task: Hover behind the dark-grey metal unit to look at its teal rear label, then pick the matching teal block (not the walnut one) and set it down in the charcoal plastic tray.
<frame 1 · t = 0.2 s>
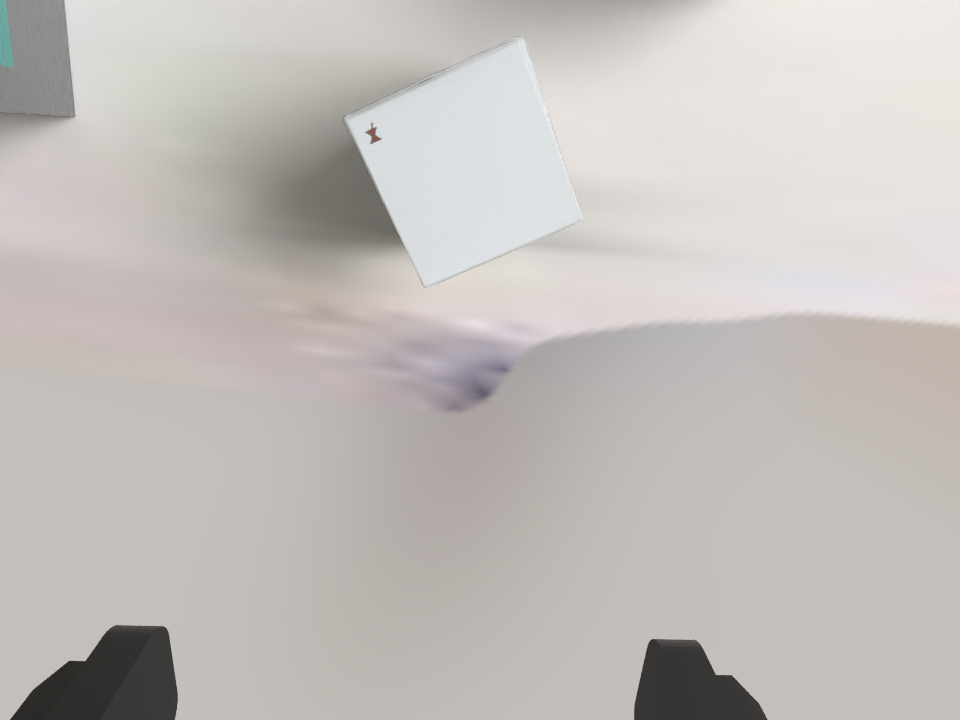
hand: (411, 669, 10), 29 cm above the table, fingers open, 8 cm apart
supplement box: (462, 160, 35), on the table
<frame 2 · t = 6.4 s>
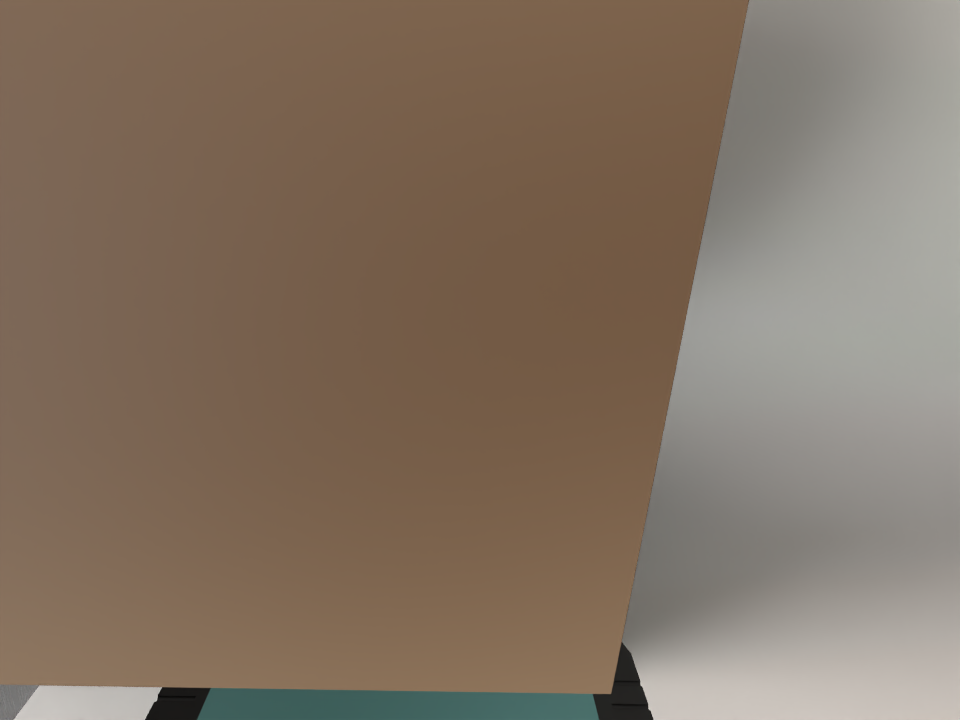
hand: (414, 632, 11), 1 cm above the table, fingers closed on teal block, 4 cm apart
walnut block: (365, 160, 9), on the table
teal block: (418, 596, 12), on the table, touching gripper
when the fingers open (3 cm above the table, at t = 11.1 s): teal block drops 1 cm, resting on tray.
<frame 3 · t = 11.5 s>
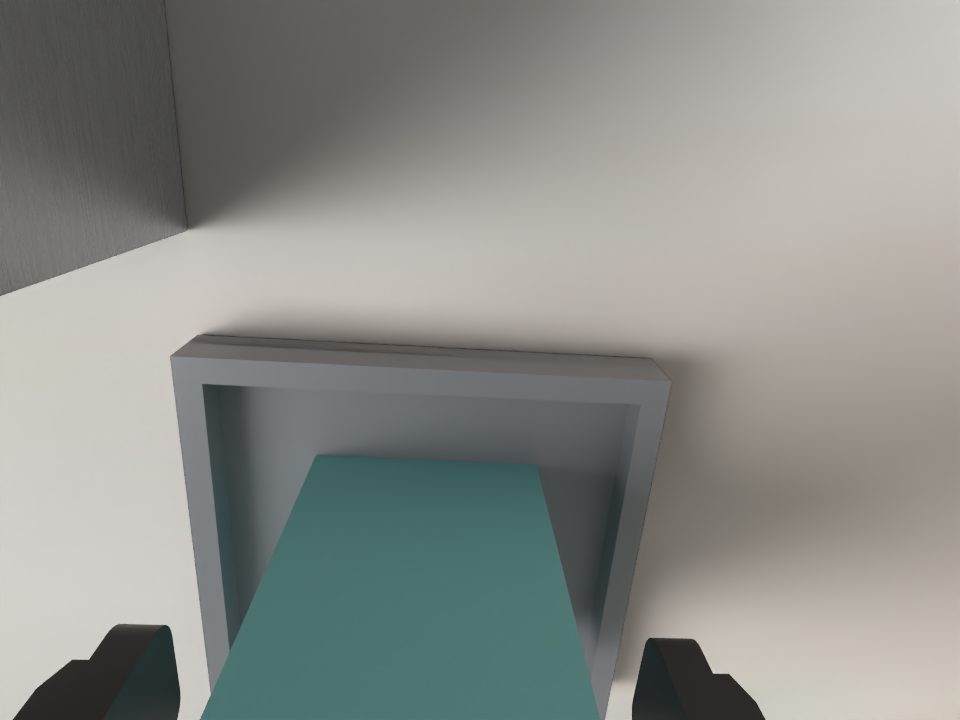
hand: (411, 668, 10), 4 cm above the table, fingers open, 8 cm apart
teal block: (423, 550, 13), resting on tray
tray: (422, 535, 13), on the table
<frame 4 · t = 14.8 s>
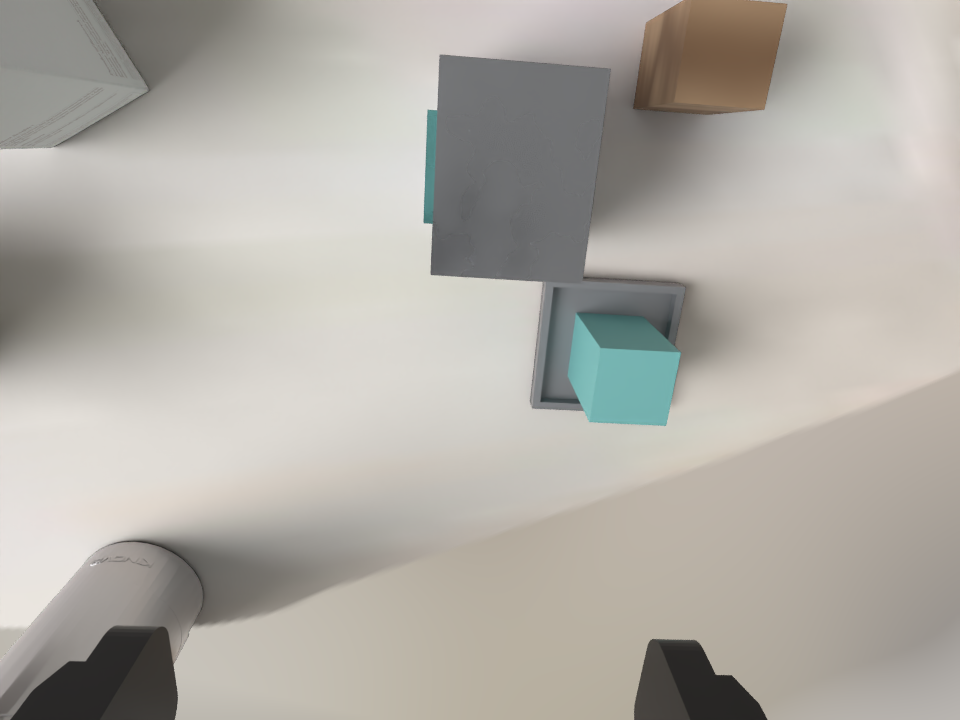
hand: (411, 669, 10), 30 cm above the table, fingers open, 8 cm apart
walnut block: (677, 70, 34), on the table
teal block: (604, 346, 40), resting on tray
unit: (498, 165, 36), on the table
tray: (602, 343, 40), on the table
supplement box: (60, 58, 33), on the table
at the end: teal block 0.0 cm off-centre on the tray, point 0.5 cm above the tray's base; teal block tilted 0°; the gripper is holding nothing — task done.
